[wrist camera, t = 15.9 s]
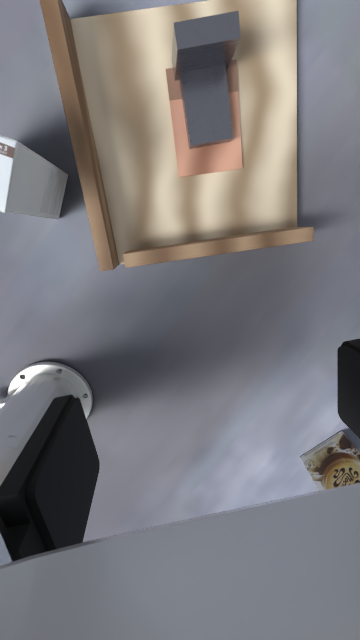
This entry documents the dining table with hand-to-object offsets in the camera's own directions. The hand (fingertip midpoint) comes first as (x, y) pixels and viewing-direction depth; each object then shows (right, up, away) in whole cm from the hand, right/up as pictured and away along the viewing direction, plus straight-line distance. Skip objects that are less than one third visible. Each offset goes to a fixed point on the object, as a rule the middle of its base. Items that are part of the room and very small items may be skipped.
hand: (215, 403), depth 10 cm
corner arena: (0, +25, +25) cm, 35 cm away
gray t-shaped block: (+2, +28, +23) cm, 36 cm away
